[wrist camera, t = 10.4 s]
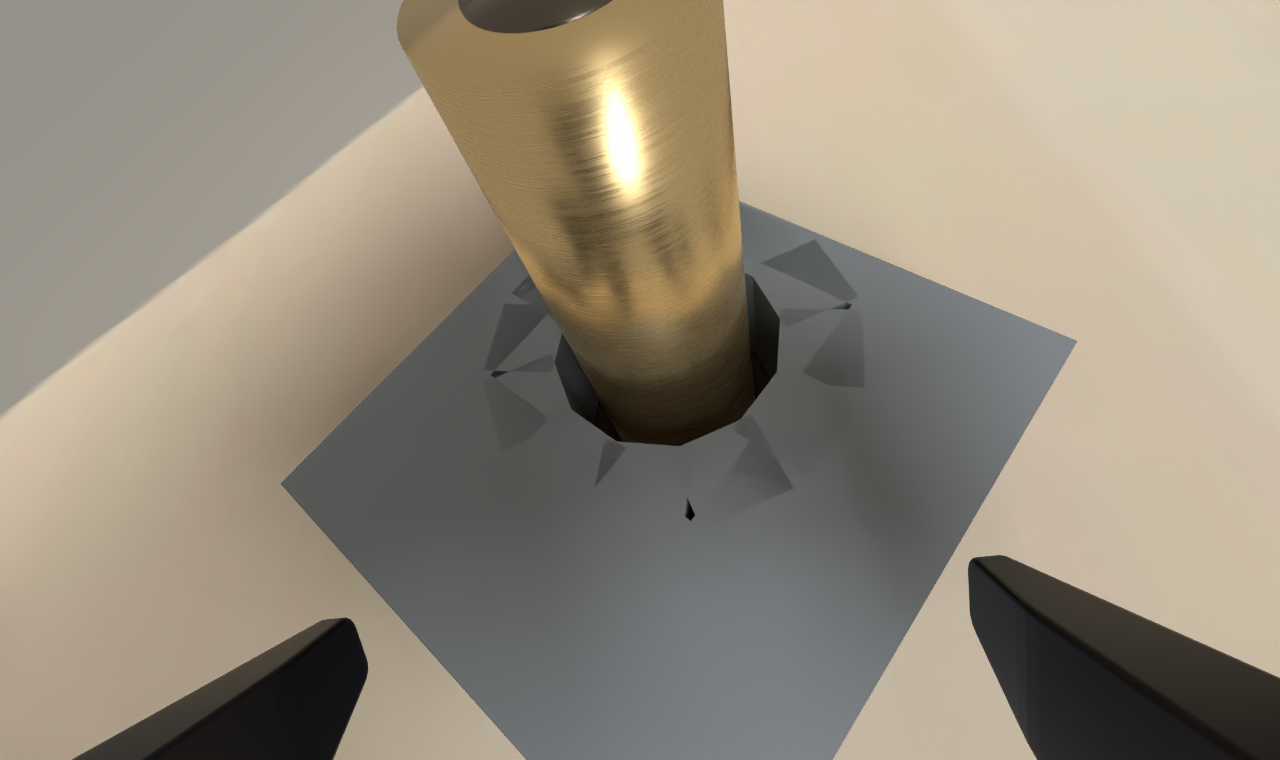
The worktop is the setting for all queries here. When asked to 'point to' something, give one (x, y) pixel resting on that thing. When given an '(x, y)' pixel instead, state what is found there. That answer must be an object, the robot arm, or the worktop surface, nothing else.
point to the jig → (683, 507)
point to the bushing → (609, 187)
